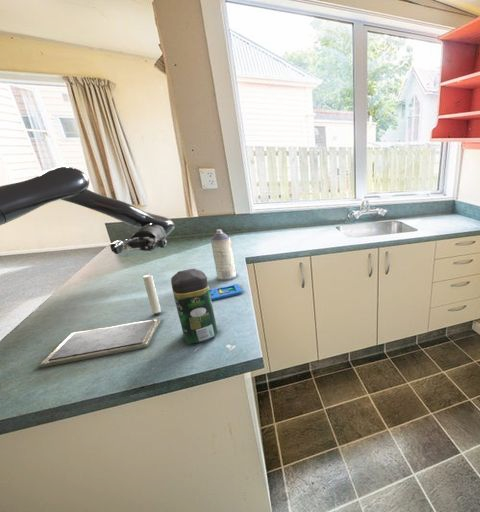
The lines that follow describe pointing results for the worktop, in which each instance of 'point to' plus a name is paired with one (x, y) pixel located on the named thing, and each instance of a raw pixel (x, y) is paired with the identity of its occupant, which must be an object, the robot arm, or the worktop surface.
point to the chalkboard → (103, 342)
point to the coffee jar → (194, 305)
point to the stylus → (152, 294)
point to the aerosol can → (223, 256)
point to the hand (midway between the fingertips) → (132, 249)
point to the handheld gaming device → (225, 291)
